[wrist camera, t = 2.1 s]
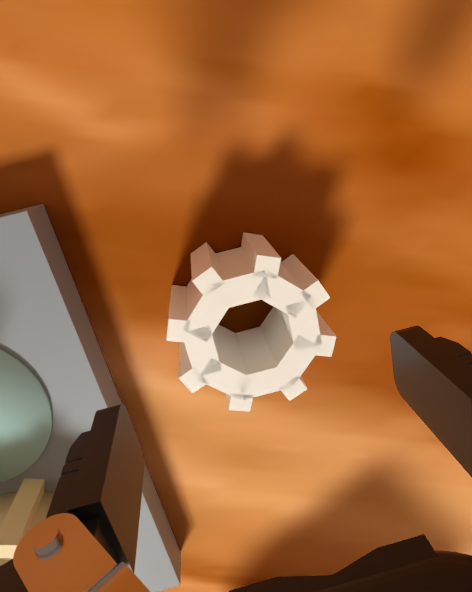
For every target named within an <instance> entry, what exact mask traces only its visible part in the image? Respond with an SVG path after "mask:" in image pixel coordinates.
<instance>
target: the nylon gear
mask: <svg viewBox="0 0 472 592" xmlns="http://www.w3.org/2000/svg"><path fill="white" fill-rule="evenodd" d="M190 256H191V275H192V278H191V280H190V282H189V283H188V285H187V287H186V286H178V285H172V288H171V297H170V306H169V317H168V328H167V339H166V341H175V342H179V379H180V380H181V381H182V382H183V384H184V385H185V386H186V387H187V388H188V389H189V390H190V391H191V392H192V393H194V392H195V391H197V390H198V389H200V388H201V387H203V386H204V385H205V384H207V385H209V386H211V387H213V388H215V389H218V390H220V391H222V392H224V393H226V397H227V403H228V409H229V410H235V411H249V412H250V409H251V404H252V400H253V397H257V396H261V395H265V394H268V393H272V392H276V391H280V390H281V391H282V392H283V394H284V395H285V396H286V397H287V399H288V400H289V401H290V400H292V399H293V398H295V397H296V396H298V395H299V394H301V393H302V392H304V391H305V390H307V387H306V385H305V383H304V381H303V379H302V377H301V374H302V373H303V372H304V370H305V369H306V368H307V366H308V365H309V363H310V362H311V361H312V359H313V358H314V356H315V355H318V356H328V357H331V356H332V352H333V348H334V344H335V341H336V335H335V334H334V333H333V331H332V330H331V329H330V327H329V326H328V325H327V324H326V322H325V321H324V320H323V318H322V317H321V316H320V314H319V313H318V312H317V311H316V307H318V306H319V305H321V304H322V303H324V302H325V301H327V300H328V299H329V298H330V297H329V295H328V294H327V292H326V291H325V289H324V288H323V286H322V285H321V284H320V282H319V281H318V279H317V278H316V277H315V276H314V275H313V274H312V273H311V272H310V271H309V270H308V269H307V268H306V267H305V266H304V265H303V264H302V263H301V262H300V261H299V259H298V258H297V257H296V256H295V255H294V254H292V255H290V256H289V257H288V258H286V259H285V260H283V261H282V262H281V257H280V256H279V255H278V253H277V252H276V251H275V250H274V249H273V247H272V246H271V245H270V244H269V242H268V241H267V240H266V239H265V238H264V236H263V235H258V234H251V233H244V232H243V236H242V242H241V247H239V248H235V249H231V250H227V251H223V252H219V253H215V252H214V251H213V250H212V248H211V247H210V246H209V245H208V243H207V242H205V243H204V244H203V245H201V246H200V247H199V248H197V249H196V250H195V251H193V252H192V253H191V254H190ZM257 300H263V301H264V302H266V303H268V304H270V305H272V306H273V308H272V309H271V311H270V312H269V314H268V315H267V317H266V318H265V320H264V321H263V323H262V324H261V326H260V327H256V328H252V329H249V330H245V331H241V332H237V333H234V332H232V331H230V330H229V329H227V328H225V327H223V326H221V325H219V322H220V321H221V319H222V318H223V316H224V315H225V313H226V312H227V310H228V308H230V307H234V306H238V305H242V304H246V303H250V302H254V301H257Z"/></svg>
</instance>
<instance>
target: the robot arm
mask: <svg viewBox="0 0 472 592" xmlns="http://www.w3.org/2000/svg"><path fill="white" fill-rule="evenodd" d="M390 342H391V352H392V362H393V372H394V379H395V383H396V386H397V389H398V391H399V393H400V394H401V396H402V397H403V399H404V400H405V401H406V402H407V403H408V404H409V406H410V407H411V408H412V409H413V410H414V411H415V412H416V414H417V415H418V416H419V417H420V418H421V419H422V421H423V422H424V423H425V424H426V425H427V426H428V427H429V429H430V430H431V431H432V432H433V433H434V434H435V435H436V437H437V438H438V439H439V440H440V441H441V442H442V444H443V445H444V446H445V447H446V448H447V449H448V450H449V452H450V453H451V454H452V455H453V456H454V457H455V458H456V460H457V461H458V462H459V463H460V464H461V465H462V467H463V468H464V469H465V470H466V471H467V472H468V473H469V475H470V476H471V477H472V354H471V352H470V351H468V350H467V349H466V348H464V347H463V346H462V345H460V344H459V343H457V342H454V341H451V340H448V339H445V338H442V337H438V338H434V337H432V336H431V335H430V334H429V333H427V332H426V331H425V330H423V329H422V328H421V327H419V326H413V327H409V328H406V329H402V330H398V331H394V332H392V333H391V336H390ZM143 477H144V456H143V451H142V447H141V444H140V442H139V439H138V436H137V434H136V431H135V429H134V426H133V424H132V421H131V418H130V416H129V413H128V411H127V409H126V407H125V405H124V404H120V405H116V406H112V407H109V408H105V409H101V410H98V411H96V413H95V416H94V420H93V423H92V427H91V430H90V431H87V432H83V433H81V434H80V435H79V437H78V438H77V439H76V440H75V442H74V443H73V444H72V445H71V447H70V449H69V451H68V454H67V457H66V460H65V465H64V466H63V469H62V472H61V477H60V478H59V481H58V484H57V487H56V489H55V492H54V495H53V498H52V501H51V504H50V507H49V510H48V513H47V516H46V519H44V520H42V521H41V522H39V523H38V524H36V525H35V526H34V527H33V528H31V529H30V530H29V531H28V532H27V533H26V534H25V535H24V537H23V538H22V539H21V541H20V542H19V544H18V545H17V547H16V549H15V552H14V556H13V559H11V560H10V561H8V562H6V563H5V564H3V565H1V566H0V592H150V591H149V590H148V588H147V587H146V586H145V585H144V584H143V583H142V582H141V581H140V579H139V578H138V577H137V576H136V575H135V574H134V571H135V560H136V550H137V539H138V529H139V519H140V508H141V498H142V487H143ZM229 592H472V556H471V555H467V554H462V553H457V552H449V551H434V549H433V548H432V546H431V544H430V543H429V541H428V540H427V538H426V536H425V535H420V536H417V537H414V538H410V539H407V540H403V541H400V542H396V543H393V544H389V545H386V546H383V547H379V548H376V549H375V550H373V551H371V552H370V553H368V554H367V555H365V556H363V557H362V558H360V559H359V560H357V561H355V562H354V563H352V564H350V565H349V566H347V567H346V568H344V569H342V570H341V571H339V572H337V573H336V574H333V575H329V576H295V577H276V578H272V579H269V580H265V581H262V582H258V583H255V584H252V585H248V586H245V587H241V588H238V589H234V590H231V591H229Z"/></svg>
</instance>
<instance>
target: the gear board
mask: <svg viewBox="0 0 472 592" xmlns="http://www.w3.org/2000/svg"><path fill="white" fill-rule="evenodd" d="M120 404H122V402H121V400H120V397H119V395H118V392H117V390H116V387H115V384H114V382H113V379H112V377H111V374H110V372H109V369H108V367H107V364H106V362H105V359H104V356H103V354H102V351H101V349H100V346H99V344H98V341H97V339H96V336H95V334H94V331H93V329H92V326H91V323H90V321H89V318H88V316H87V313H86V311H85V308H84V306H83V303H82V301H81V298H80V296H79V293H78V290H77V288H76V285H75V283H74V280H73V278H72V275H71V273H70V270H69V268H68V265H67V262H66V260H65V257H64V255H63V252H62V250H61V247H60V245H59V242H58V240H57V237H56V235H55V232H54V229H53V227H52V224H51V222H50V219H49V217H48V214H47V212H46V209H45V207H44V204H39V205H35V206H31V207H27V208H23V209H19V210H15V211H11V212H7V213H3V214H0V566H1V565H3V564H5V563H6V562H8V561H10V560H11V559H13V556H14V552H15V549H16V547H17V545H18V544H19V542H20V541H21V539H22V538H23V537H24V535H25V534H26V533H27V532H28V531H29V530H30V529H31V528H33V527H34V526H35V525H36V524H38V523H39V522H41V521H42V520H44V519H46V516H47V513H48V510H49V507H50V504H51V501H52V498H53V495H54V492H55V489H56V487H57V484H58V481H59V478H60V477H61V472H62V469H63V466H64V465H65V460H66V457H67V454H68V451H69V449H70V447H71V445H72V444H73V443H74V442H75V440H76V439H77V438H78V437H79V435H80V434H81V433H83V432H87V431H90V430H91V427H92V423H93V420H94V416H95V413H96V411H98V410H101V409H105V408H109V407H112V406H116V405H120ZM180 568H181V552H180V550H179V547H178V545H177V542H176V539H175V537H174V534H173V532H172V529H171V527H170V524H169V522H168V519H167V517H166V514H165V511H164V509H163V506H162V504H161V501H160V499H159V496H158V494H157V491H156V489H155V486H154V484H153V481H152V478H151V476H150V473H149V471H148V468H147V466H146V463H145V461H144V477H143V487H142V498H141V508H140V519H139V529H138V539H137V550H136V560H135V571H134V574H135V575H136V576H137V577H138V578H139V579H140V581H141V582H142V583H143V584H144V585H145V586H146V587H147V588H148V590H149V591H150V592H158V591H162V590H165V589H169V588H173V587H176V586H180Z"/></svg>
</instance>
